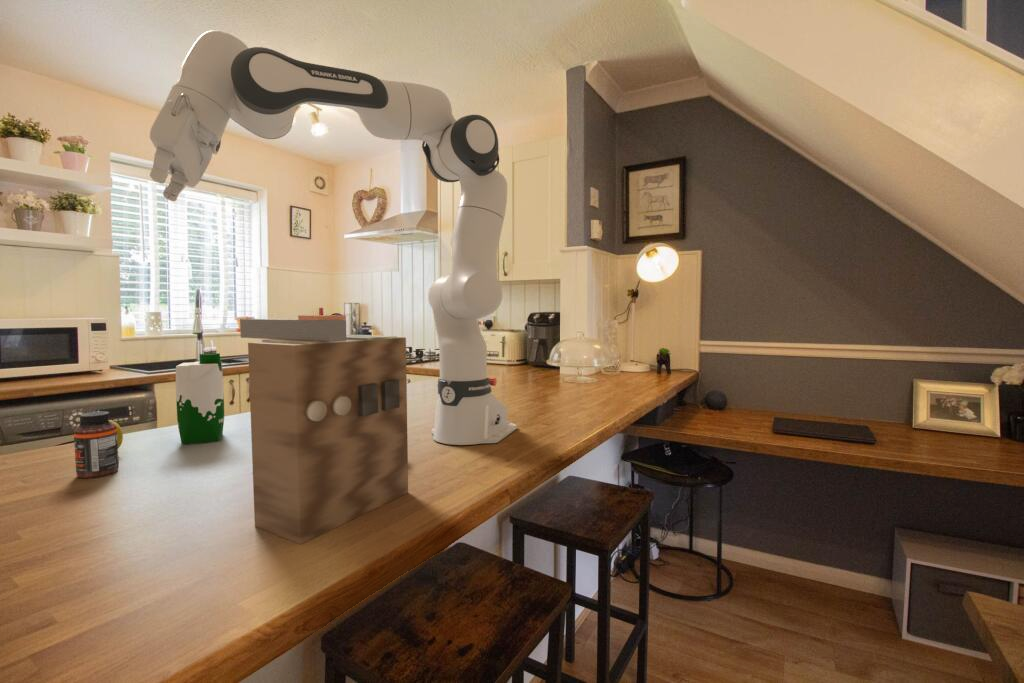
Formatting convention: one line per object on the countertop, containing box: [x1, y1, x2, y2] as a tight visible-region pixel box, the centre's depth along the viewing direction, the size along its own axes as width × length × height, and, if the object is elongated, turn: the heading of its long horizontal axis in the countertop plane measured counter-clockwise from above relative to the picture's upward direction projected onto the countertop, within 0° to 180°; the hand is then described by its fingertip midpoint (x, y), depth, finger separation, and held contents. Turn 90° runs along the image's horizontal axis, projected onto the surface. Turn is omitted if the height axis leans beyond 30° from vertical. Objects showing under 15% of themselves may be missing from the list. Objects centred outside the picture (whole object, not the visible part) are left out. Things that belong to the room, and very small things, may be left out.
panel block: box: [247, 334, 409, 545], centre depth 71 cm, size 20×11×26 cm, turn 150°
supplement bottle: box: [73, 410, 120, 479], centre depth 87 cm, size 6×6×11 cm
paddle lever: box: [239, 314, 347, 342], centre depth 67 cm, size 4×20×3 cm, turn 60°
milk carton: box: [175, 352, 225, 445], centre depth 109 cm, size 9×9×20 cm
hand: (162, 190), depth 79 cm, fingers open, 8 cm apart
